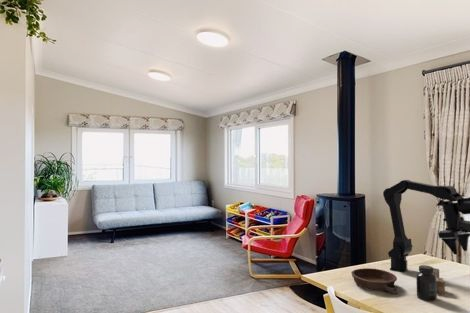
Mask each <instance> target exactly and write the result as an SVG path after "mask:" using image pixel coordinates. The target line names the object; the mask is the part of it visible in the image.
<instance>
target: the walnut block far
mask: <svg viewBox="0 0 470 313" xmlns="http://www.w3.org/2000/svg"><path fill="white" fill-rule="evenodd" d="M433 274H434V275H435V276H436V277H437V278H440V268H435V267H433Z"/></svg>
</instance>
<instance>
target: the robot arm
mask: <svg viewBox="0 0 470 313" xmlns="http://www.w3.org/2000/svg"><path fill="white" fill-rule="evenodd" d="M408 190H411V191H415V192H420V193H424V194H429V195H432V196H433V197H435V198H437V199H439V201H438V202H437V203H436V206H437V207H438V206H439V207H440V206H442V210H443V216H444V218H442V219H443V222H445V224H446V228H445V229H443V230H440V231H439V232H438V238H439V239H441V240H442V241H443V243H445V244H446V245H447V247H448V248H449V249H450V251H451V253H452V254H453V255H458V246H457V242H458V243H459V245H460V246H461V247H460V248H461V249H462V250H463V251H464V252H467V251H468V243H469V238H470V220H465V219H464V217H463V216H461V214H462V215H470V197H463V195H462V194H460V192H457V188H456V187H454V186H452V185H435V184H434V185H433V184H429V183H428V184H427V183H423V182H418V181H412V180H410V179H402V180H400V181H399V182H398V183H396V184H394V185H392V186H390V187H387V188H385V189H384V190H383V194H382V195H383V196H382V197H383V198H384V201H385V203H386V204H387V206H388V207H389V213H390V219H391V224H392V229H393V235H394V237H393V240H392V249H391V250H389V251H388V252H387V254H388V258H390V268H389V270H391V271H395V272H396V271H397V272H400V273H406V271H407V270H408V260H407V257H408V256H409V254H411V252H412V250H413V247H414V246H413V244H412V243H413V242H412V238H408V236H407V235H406V232H405V225H404V221H403V214H402V211H401V203H402V197H403V196H402V194H405V193H406V192H407V191H408ZM460 213H461V214H460Z"/></svg>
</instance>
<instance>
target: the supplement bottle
mask: <svg viewBox="0 0 470 313" xmlns="http://www.w3.org/2000/svg"><path fill="white" fill-rule="evenodd" d="M433 268H434V267H433V266H431V265H426V264H421V265H419V266H418V271H419V272H417V273H416V275H415V276H416V277H415V278H416V296H417V298H418V299H420V300H422V301H426V302H433V301H434V302H435V301H437V299H438V294H437V283H436V276H435V275H434V274H433Z"/></svg>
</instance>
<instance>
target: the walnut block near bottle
mask: <svg viewBox="0 0 470 313" xmlns="http://www.w3.org/2000/svg"><path fill="white" fill-rule="evenodd" d="M436 283H437V295H446V294H445V293H446V281H445V280H444V278H443V277H439V278H437V277H436Z"/></svg>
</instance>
